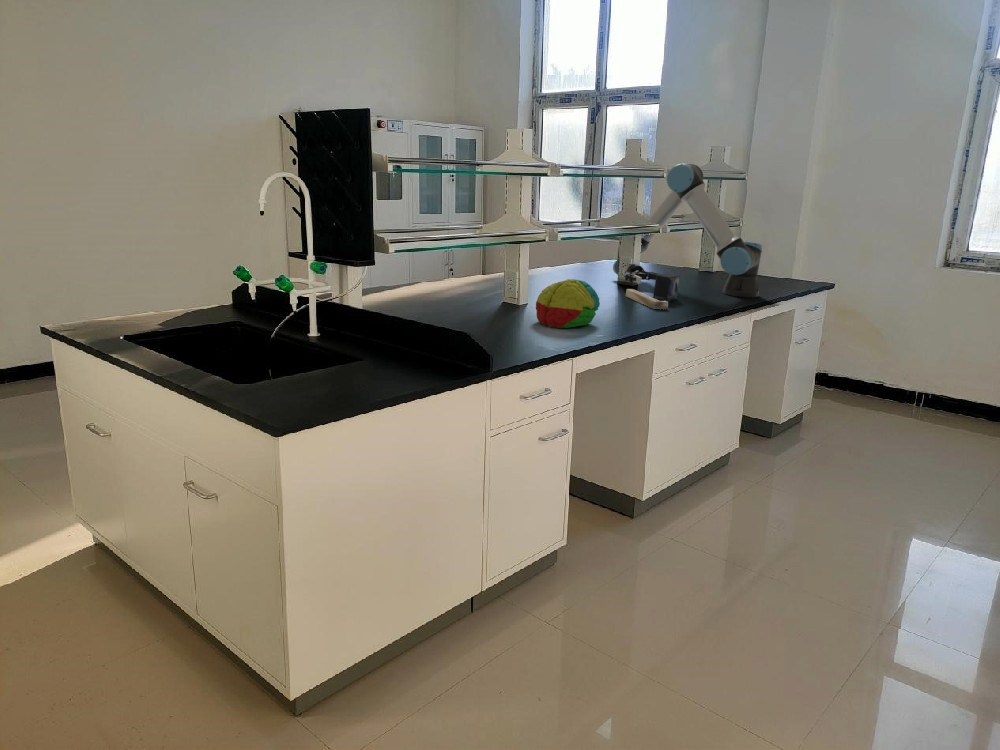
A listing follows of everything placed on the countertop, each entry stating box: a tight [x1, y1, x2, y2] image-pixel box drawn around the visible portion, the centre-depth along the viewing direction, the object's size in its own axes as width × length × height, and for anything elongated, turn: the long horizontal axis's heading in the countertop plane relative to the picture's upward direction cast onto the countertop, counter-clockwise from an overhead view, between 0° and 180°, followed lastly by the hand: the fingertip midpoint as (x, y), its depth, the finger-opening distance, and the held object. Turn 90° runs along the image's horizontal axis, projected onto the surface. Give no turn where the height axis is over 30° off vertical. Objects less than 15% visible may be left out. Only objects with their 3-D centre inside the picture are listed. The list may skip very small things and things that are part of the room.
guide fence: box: [625, 288, 669, 311], centre depth 287 cm, size 6×26×3 cm, turn 15°
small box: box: [652, 272, 681, 303], centre depth 295 cm, size 11×6×10 cm, turn 143°
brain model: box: [535, 278, 601, 329], centre depth 242 cm, size 24×19×15 cm
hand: (655, 281), depth 304 cm, fingers open, 13 cm apart
